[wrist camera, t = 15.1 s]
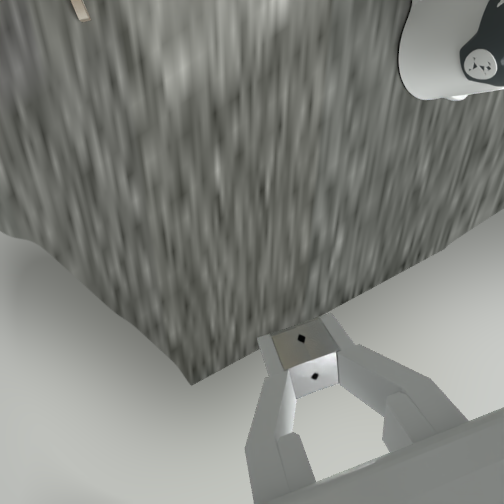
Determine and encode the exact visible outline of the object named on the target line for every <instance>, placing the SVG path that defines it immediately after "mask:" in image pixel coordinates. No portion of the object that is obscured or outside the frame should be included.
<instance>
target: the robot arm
mask: <svg viewBox="0 0 504 504" xmlns="http://www.w3.org/2000/svg"><path fill="white" fill-rule="evenodd" d="M399 70H400V75H401V78H402V81H403V83H404V85H405V87H406V89H407V90H408V91H409V92H410V93H411V94H412V95H413V96H415V97H417V98H419V99H423V100H433V99H437V98H446V99H449V100H452V101H458V100H463V99H464V98H466V97H467V95H469V94H475V93H482V92H488V91H495V90H501V89H504V0H412V7H411V11H410V14H409V16H408V19H407V22H406V24H405V27H404V30H403V33H402V37H401V42H400V48H399ZM257 340H258V344H259V347H260V350H261V353H262V356H263V360H264V363H265V366H266V369H267V372H268V376H269V377H266V378H265V380H264V383H263V387H262V391H261V393H260V397H259V400H258V404H257V407H256V411H255V415H254V418H253V422H252V425H251V428H250V432H249V435H248V439H247V442H246V446H245V453H246V459H247V465H248V471H249V477H250V483H251V488H252V494H253V500H254V504H504V408H501V409H499V410H496V411H493V412H491V413H488V414H486V415H483V416H481V417H478V418H476V419H473V420H471V421H468V420H467V419H466V417H465V416H464V415H463V414H462V413H461V412H460V411H459V410H458V409H457V408H456V406H455V405H454V404H453V403H452V402H451V401H450V400H449V399H448V398H447V396H446V395H445V394H444V393H443V392H442V391H441V390H440V389H439V387H438V386H437V385H436V384H435V383H434V382H433V381H432V380H431V379H430V378H428V377H426V376H424V375H422V374H419V373H418V372H415V371H414V370H411V369H409V368H407V367H405V366H403V365H401V364H399V363H397V362H395V361H393V360H391V359H389V358H387V357H384V356H383V355H380V354H379V353H376V352H374V351H372V350H370V349H368V348H366V347H364V346H362V345H360V344H358V345H355V344H354V343H353V341H352V340H351V339H350V337H349V336H348V334H347V333H346V332H345V330H344V329H343V327H342V326H341V325H340V323H339V322H338V321H337V319H336V318H335V316H334V315H333V314H332V313H328V314H326V315H323V316H320V317H316V318H313V319H311V320H308V321H305V322H302V323H299V324H297V325H294V326H292V327H289V328H286V329H283V330H280V331H276V332H273V333H270V334H267V335H264V336H261V337H258V338H257ZM339 383H340V385H341V386H342V387H344V388H345V389H346V390H348V391H349V392H350V393H352V394H353V395H354V396H356V397H357V398H359V399H360V400H361V401H363V402H364V403H365V404H367V405H368V406H370V407H371V408H372V409H374V410H375V411H376V412H378V413H379V414H381V415H382V416H383V417H385V418H384V427H383V437H382V440H383V441H384V443H385V445H386V446H387V448H388V450H389V452H390V453H388V454H386V455H383V456H381V457H378V458H376V459H373V460H371V461H368V462H366V463H363V464H361V465H358V466H356V467H353V468H351V469H348V470H346V471H343V472H341V473H338V474H335V475H333V476H331V477H328V478H325V479H323V480H320V481H318V482H316V481H315V477H314V475H313V472H312V469H311V466H310V464H309V461H308V458H307V455H306V452H305V450H304V447H303V444H302V441H301V439H300V436H299V435H298V434H296V433H294V432H292V430H293V423H294V415H295V407H296V399H298V398H301V397H303V396H306V395H308V394H311V393H313V392H316V391H318V390H321V389H324V388H327V387H330V386H333V385H336V384H339Z"/></svg>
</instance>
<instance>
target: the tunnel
mask: <svg viewBox="0 0 504 504" xmlns="http://www.w3.org/2000/svg"><path fill="white" fill-rule="evenodd" d="M71 2H72V5H73V7H74V9H75V12H76V14H77V16H78V18H79V20H80V21H81V22H86V21H90V20H91V18H90V16H89V14H88V11H87V9H86V7H85V4H84V2H83V0H71Z"/></svg>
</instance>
